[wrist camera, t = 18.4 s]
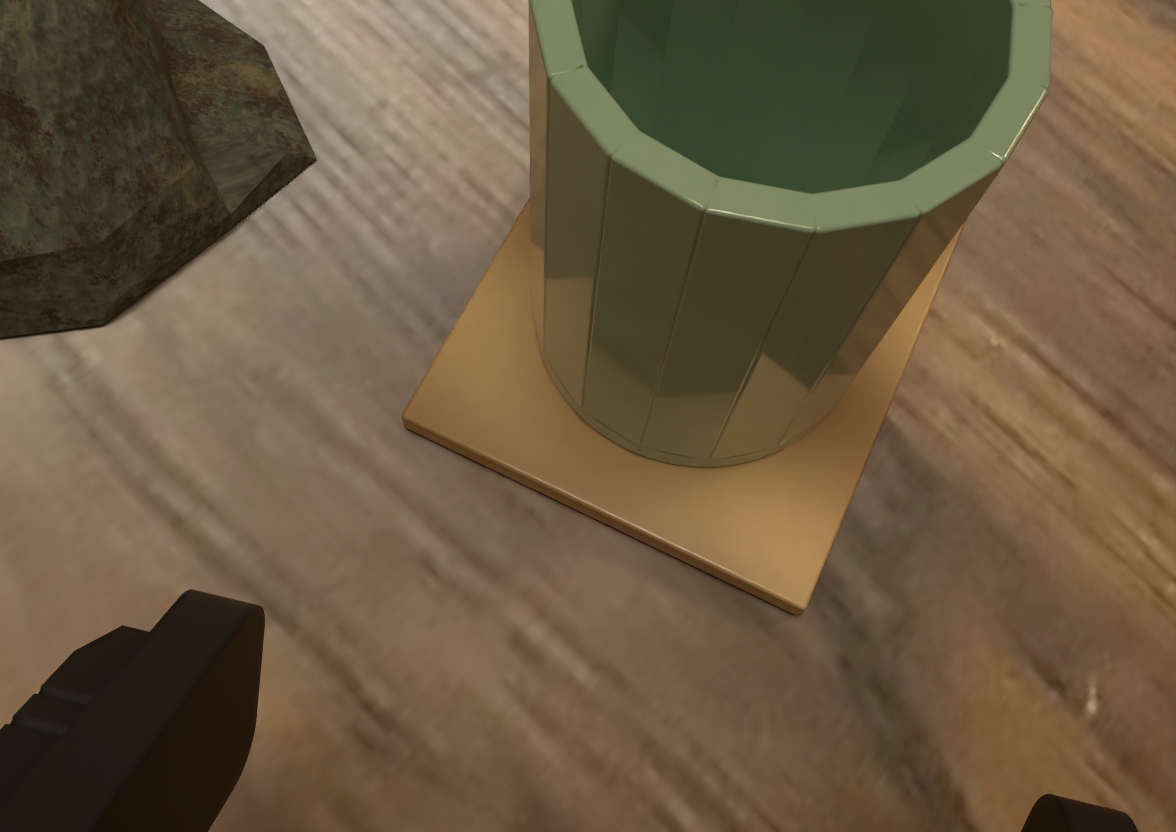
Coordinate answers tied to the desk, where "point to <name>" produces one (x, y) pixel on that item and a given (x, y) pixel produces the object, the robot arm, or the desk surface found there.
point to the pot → (753, 197)
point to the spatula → (646, 486)
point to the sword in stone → (127, 150)
